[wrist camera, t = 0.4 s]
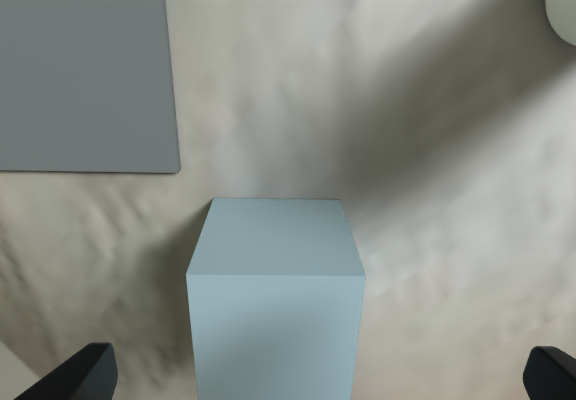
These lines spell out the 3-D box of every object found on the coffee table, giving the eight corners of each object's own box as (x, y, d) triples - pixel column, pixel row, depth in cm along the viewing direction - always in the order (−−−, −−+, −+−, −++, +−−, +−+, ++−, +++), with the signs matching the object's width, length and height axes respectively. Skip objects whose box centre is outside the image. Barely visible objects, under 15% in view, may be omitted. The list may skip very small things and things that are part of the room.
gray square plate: (180, 169, 20) (178, 172, 20) (-17, 166, 20) (-24, 169, 20) (159, -59, 16) (156, -61, 16) (-90, -67, 16) (-101, -70, 16)
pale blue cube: (331, 300, 24) (350, 401, 18) (219, 300, 24) (198, 401, 18) (339, 199, 21) (366, 276, 15) (213, 198, 21) (186, 274, 15)
